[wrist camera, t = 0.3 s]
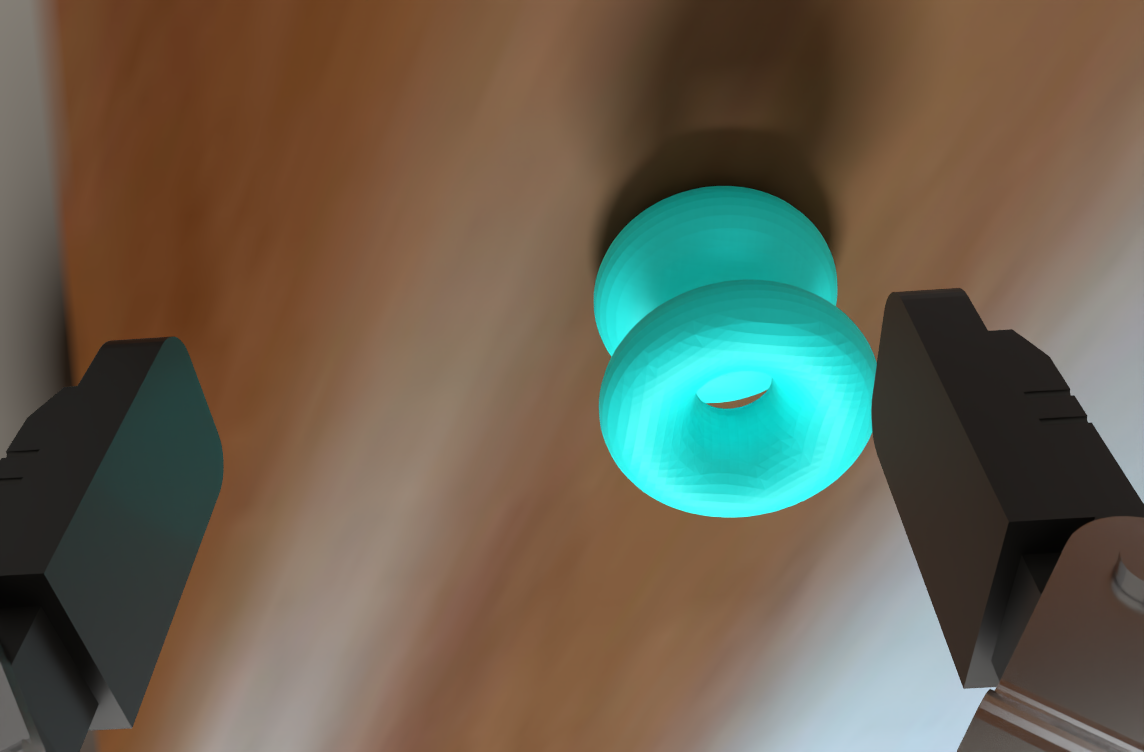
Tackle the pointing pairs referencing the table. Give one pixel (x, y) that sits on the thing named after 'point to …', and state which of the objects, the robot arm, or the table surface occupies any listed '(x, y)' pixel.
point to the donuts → (729, 355)
